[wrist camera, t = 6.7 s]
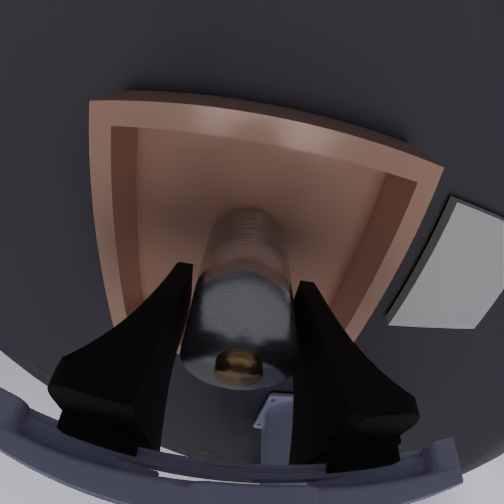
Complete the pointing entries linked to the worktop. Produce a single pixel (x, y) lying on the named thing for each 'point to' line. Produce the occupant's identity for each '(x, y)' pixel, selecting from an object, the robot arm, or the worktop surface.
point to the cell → (242, 306)
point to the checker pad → (455, 271)
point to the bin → (250, 193)
